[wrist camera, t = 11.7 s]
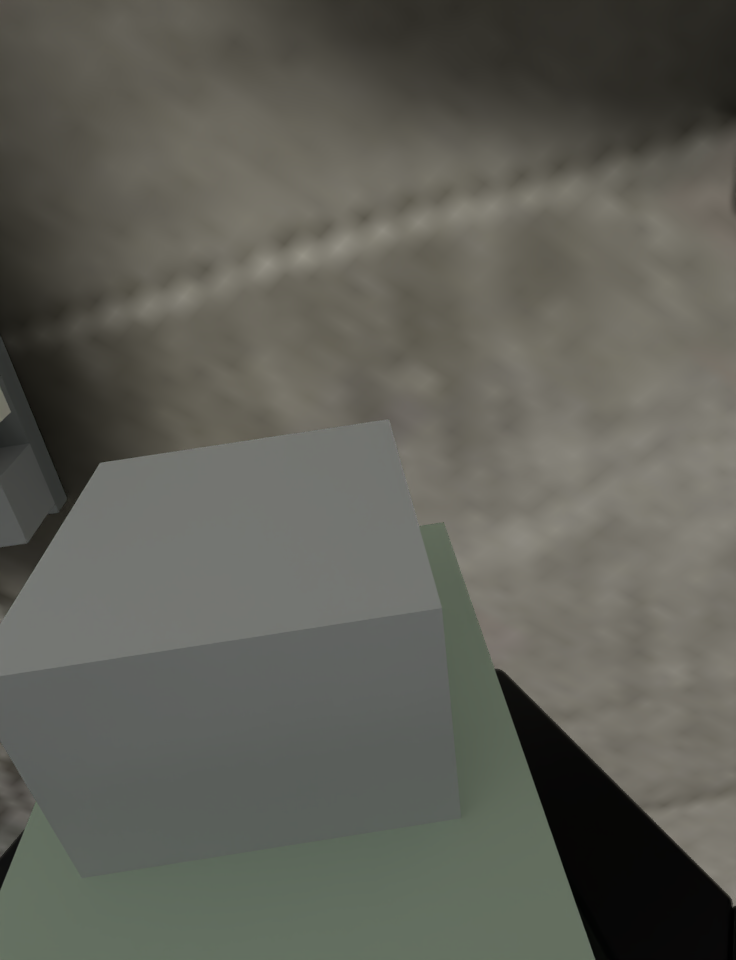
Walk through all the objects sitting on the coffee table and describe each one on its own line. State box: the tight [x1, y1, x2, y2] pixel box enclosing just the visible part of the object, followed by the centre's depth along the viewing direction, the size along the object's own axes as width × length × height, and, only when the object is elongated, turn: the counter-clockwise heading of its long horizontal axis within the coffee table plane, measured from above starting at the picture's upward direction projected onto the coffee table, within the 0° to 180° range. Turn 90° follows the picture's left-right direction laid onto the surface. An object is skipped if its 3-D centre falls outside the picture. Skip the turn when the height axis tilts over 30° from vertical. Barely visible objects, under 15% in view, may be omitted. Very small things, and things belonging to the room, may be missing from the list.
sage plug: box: [0, 419, 595, 960], centre depth 7 cm, size 10×4×5 cm, turn 8°
